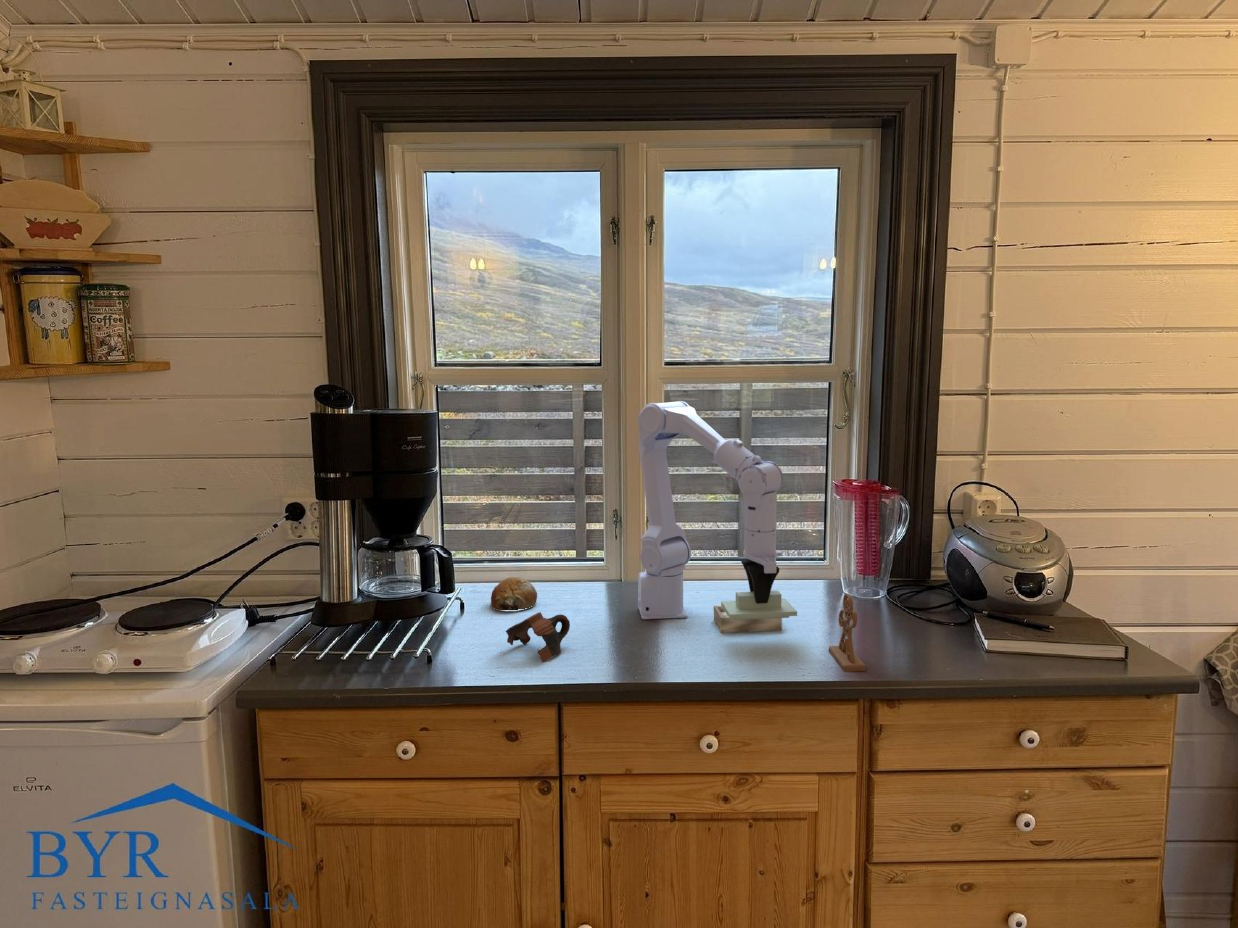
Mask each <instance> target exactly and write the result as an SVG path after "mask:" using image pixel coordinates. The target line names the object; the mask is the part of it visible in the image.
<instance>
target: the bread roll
mask: <svg viewBox="0 0 1238 928" xmlns="http://www.w3.org/2000/svg"><path fill="white" fill-rule="evenodd" d="M490 596H491V597H490V604H491V606H492V608H493V609H494V608H495V609H498V610H518V609H525V608H529V607H531V606H532V607H534V606H535V605H536V604H535V603H537V602H536V601H537V600H538V592H537V590H536V588H535V586H534V585H533V584H532V583H531V582H530V581H529V580H527V579H525V578H523V577H520V576H513V577H512V576H509V577H506V578H504V579H503V580H501V581H500V582H499V583H498V584H497V585H495V586H494V588H493V590H492V592H491V595H490ZM533 605H534V606H533ZM532 607H531V608H532ZM495 609H494V610H495ZM498 610H497V611H498Z"/></svg>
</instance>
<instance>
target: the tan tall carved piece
mask: <svg viewBox="0 0 1238 928" xmlns="http://www.w3.org/2000/svg"><path fill="white" fill-rule="evenodd" d="M842 605H843V607H842V608H843V609H840V611H839V613H838V625H839V627H840V628H842V634H841V636H840V640H839V644H838V645H830V646H828V653H829V654H830V656H831V657H832V659H834V661H835V662H836V663H837V665H838V667H839V668H840V669H841V671H843V672H865V671H866V665H865V663H864V662H863V660H862V659H861V658H860V657H859V656H858V655H857V654H856V653H855V651H854V646H853V645H854V644H853V638H852V635H853V629H855V628H856V627H857V623H858V614H857V610H854V600H853V597H852V595H851V594H850V593H848V594H846V593H845V594H844V595H843V599H842ZM850 622H852V624H851V623H850ZM846 637H847V638H846Z"/></svg>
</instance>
